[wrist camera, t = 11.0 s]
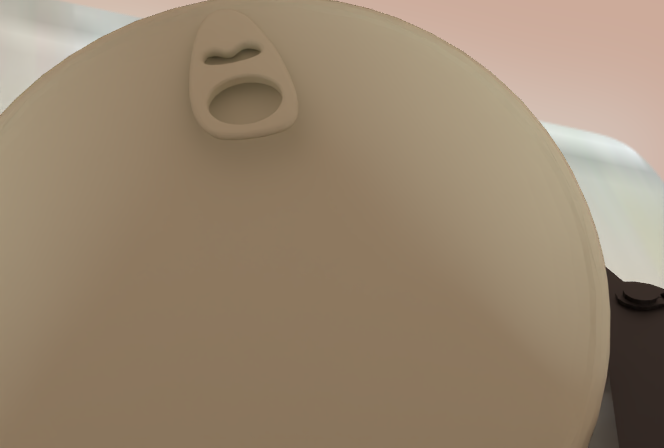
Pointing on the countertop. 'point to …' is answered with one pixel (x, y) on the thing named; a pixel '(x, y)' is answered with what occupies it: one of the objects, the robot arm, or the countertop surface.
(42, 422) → the can
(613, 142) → the countertop surface
